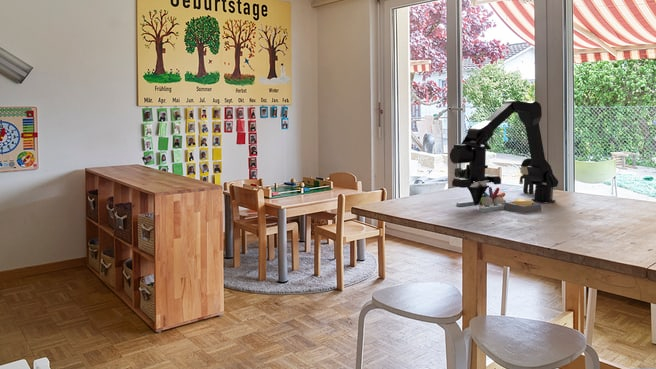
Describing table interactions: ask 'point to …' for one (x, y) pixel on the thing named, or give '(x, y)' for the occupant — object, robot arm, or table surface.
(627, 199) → the table surface
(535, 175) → the robot arm
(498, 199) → the multicoloured petal shapes
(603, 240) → the table surface
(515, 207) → the dome housing
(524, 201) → the dome
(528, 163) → the toy
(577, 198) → the table surface
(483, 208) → the rail
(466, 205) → the rail
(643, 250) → the table surface
